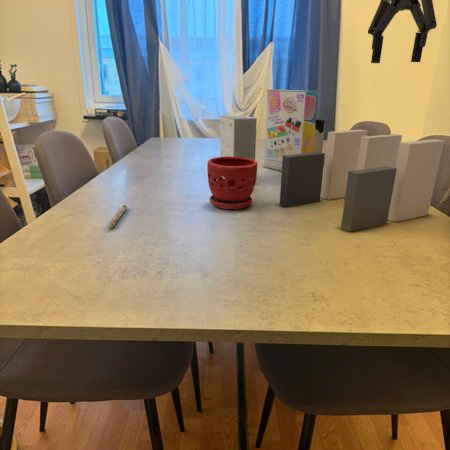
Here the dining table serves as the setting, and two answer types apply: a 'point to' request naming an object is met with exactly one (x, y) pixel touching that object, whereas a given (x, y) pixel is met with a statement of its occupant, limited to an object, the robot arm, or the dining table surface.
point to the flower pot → (231, 181)
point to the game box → (289, 124)
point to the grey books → (355, 191)
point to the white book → (378, 151)
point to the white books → (404, 180)
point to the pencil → (117, 216)
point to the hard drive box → (238, 136)
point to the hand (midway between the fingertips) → (394, 62)
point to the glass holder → (319, 135)
